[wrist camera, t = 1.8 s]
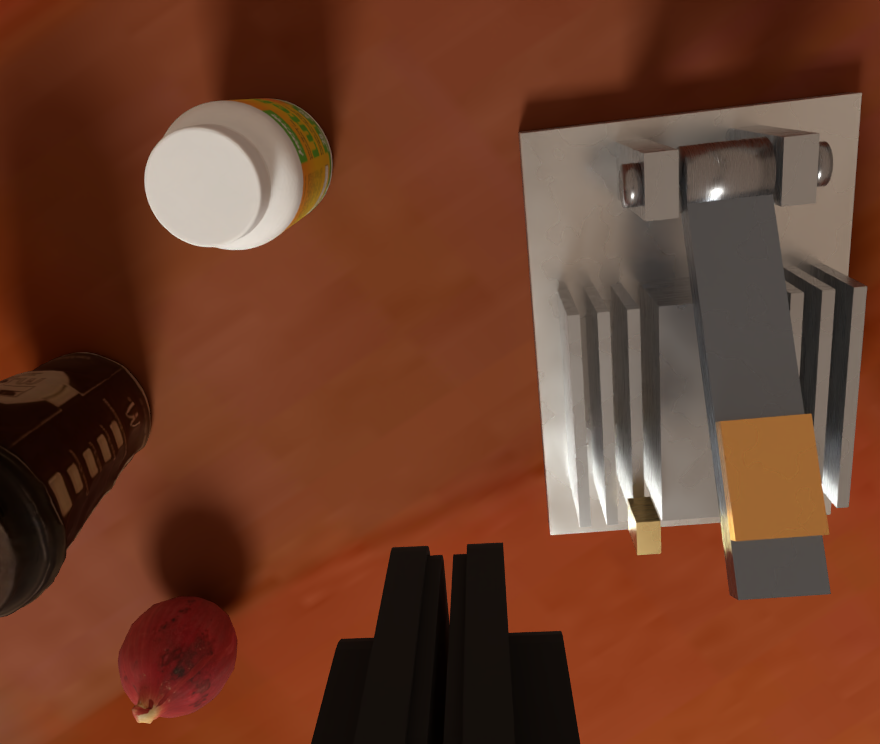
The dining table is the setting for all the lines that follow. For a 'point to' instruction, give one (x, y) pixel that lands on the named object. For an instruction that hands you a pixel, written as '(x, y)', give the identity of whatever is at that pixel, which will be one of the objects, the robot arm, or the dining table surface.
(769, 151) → the strap
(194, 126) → the supplement bottle
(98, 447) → the coffee cup
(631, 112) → the dining table surface
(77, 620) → the dining table surface
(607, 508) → the heatsink base
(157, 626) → the onion
